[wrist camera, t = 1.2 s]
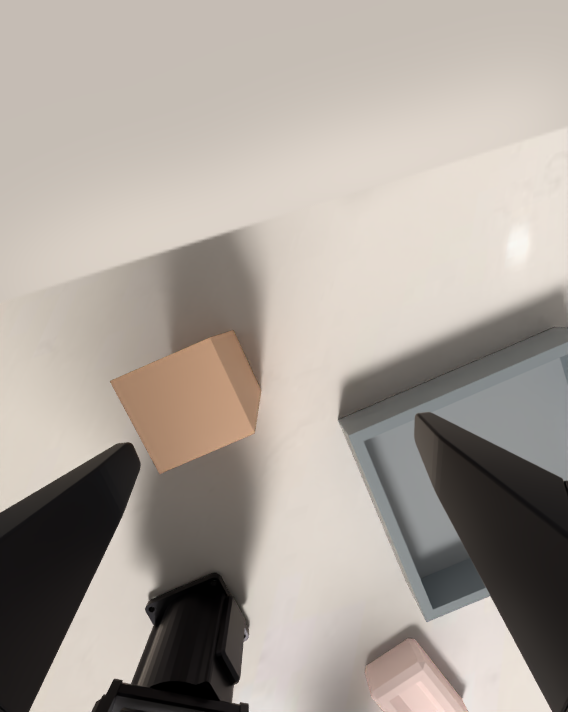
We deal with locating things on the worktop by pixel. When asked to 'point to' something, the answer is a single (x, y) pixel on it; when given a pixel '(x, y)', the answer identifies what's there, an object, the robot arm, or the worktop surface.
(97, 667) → the worktop surface
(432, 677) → the soap bar
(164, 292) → the worktop surface
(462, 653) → the worktop surface
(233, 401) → the carton
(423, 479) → the tray
